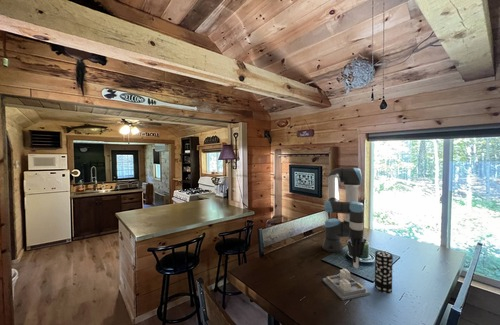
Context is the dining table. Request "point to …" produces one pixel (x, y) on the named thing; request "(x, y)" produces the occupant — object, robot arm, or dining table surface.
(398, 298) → the dining table surface
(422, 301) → the dining table surface
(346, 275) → the tab
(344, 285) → the tab
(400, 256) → the dining table surface
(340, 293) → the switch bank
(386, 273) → the spotted tube
